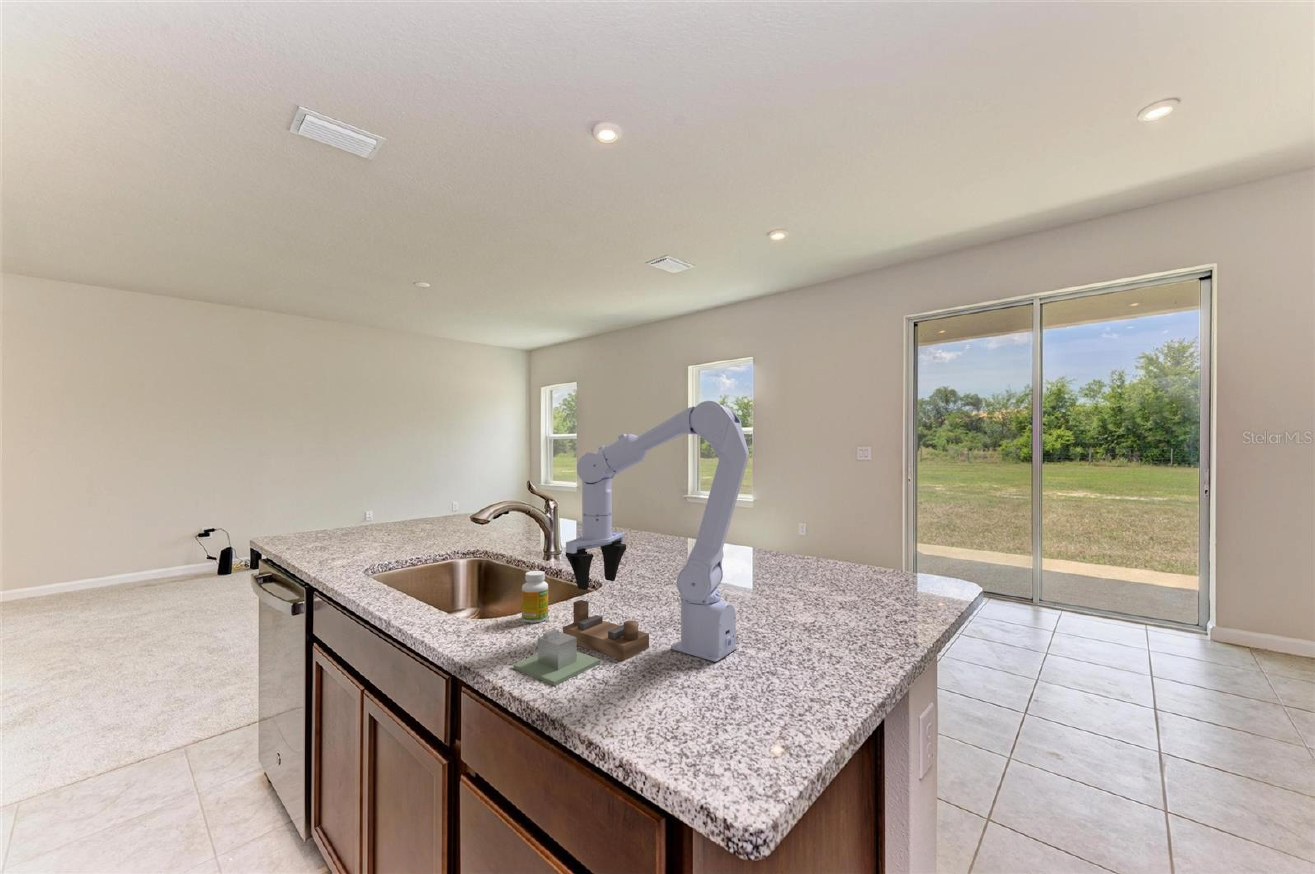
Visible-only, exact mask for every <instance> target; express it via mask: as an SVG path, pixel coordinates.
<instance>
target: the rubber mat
mask: <svg viewBox="0 0 1315 874" xmlns="http://www.w3.org/2000/svg"><path fill="white" fill-rule="evenodd" d="M599 664H601V659H600V658H597V657H594V656H591V655H588V654H585V653H583V652H580V651H577V662H575V663H573V664H571V665H569V666H566V667H564V668H562V669H560V670H556V669H554V668H551V667H549V666H546V665H544V664H541V663H538V654H536V655H534V656H531V657H528V658H526V659H523V660H520V661H519V662H516V663H514V664H512V669H514V670H516V671H518V672H521V673H523V674H525V675H528V676H530V677H532V678H535V679H538V680H539V679H540V681H541V682H545V683H546V684H549V685H551V686H554V687H555V686H557V685H559V684H561V683H564V682H565V681H567V680H569V679H571V678H573V677H575V676H577V674H578V675H579V674H581V673H583V672H586V671H587V670H590V669H591V668H593V667H596V666H598V665H599Z"/></svg>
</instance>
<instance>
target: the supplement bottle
mask: <svg viewBox="0 0 1315 874" xmlns="http://www.w3.org/2000/svg"><path fill="white" fill-rule="evenodd" d="M524 578H525V579H524V580H525V581H526V582H525V583H523V584H522V586H521V620H522V622H524V623H526V622H530V623H529V624H537V623H536V622H539V623H543V622H545V621H547V620H548V618H549V584H548V582H546V581H545V579H546V571H543V570H530V571H527V572H525V577H524ZM544 620H545V621H544ZM542 621H543V622H542Z"/></svg>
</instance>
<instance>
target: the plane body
mask: <svg viewBox="0 0 1315 874" xmlns="http://www.w3.org/2000/svg"><path fill="white" fill-rule="evenodd" d="M572 606H573V608H572V609H573V614H572V615H573V619H572V620H573V621H572V623H570V624H566V625H564V626H562V633H565V634H568V635H571V636H574V637H577V647H580V648H581V647H582V648H584V649H588V650H589V651H593V652H596V653H599V654H602V655H604V656H607V657H611V658H614V659H616V660H620V661H623V662H624V661H626V660H628V659H630V658H632V657H633V656H636V655H638V654H640V653H641V652H644V651H646V650H647V649H650V633H648V632H644V631H641V630H639V622H638V621H636V620H626V621H624V622H623V624H622V625H621V624H620V625H619V624H616V623H612V622H609V621H606V620H604V617H603V616H602V615H598V614H596V615H593V616H589V601H587V600H583V599H579V600H576V601H574V602H573V605H572Z"/></svg>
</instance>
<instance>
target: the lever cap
mask: <svg viewBox="0 0 1315 874" xmlns="http://www.w3.org/2000/svg"><path fill="white" fill-rule="evenodd" d="M577 648H578V645H577V637H574V636H571V635H568V634H565V633H563V631H560V630H559V629H555V628H553V629H551V630H547V631H545V632H543V634H542V635H541V636H539V637H537V655H538V663H541V664H544V665H546V666H549V667H551V668H554V669H556V670H560V669H562V668H564V667H566V666H569V665H571V664H573V663H575V662H577V652H578V651H577V650H578V649H577Z"/></svg>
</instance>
